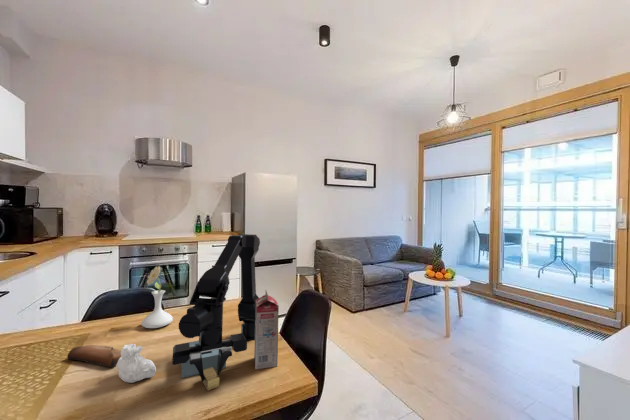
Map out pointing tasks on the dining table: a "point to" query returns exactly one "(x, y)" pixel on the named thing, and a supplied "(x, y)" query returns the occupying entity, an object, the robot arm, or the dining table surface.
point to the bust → (134, 364)
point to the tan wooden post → (210, 379)
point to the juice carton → (266, 332)
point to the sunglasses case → (96, 355)
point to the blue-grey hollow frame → (207, 360)
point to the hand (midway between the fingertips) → (210, 378)
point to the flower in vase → (156, 305)
